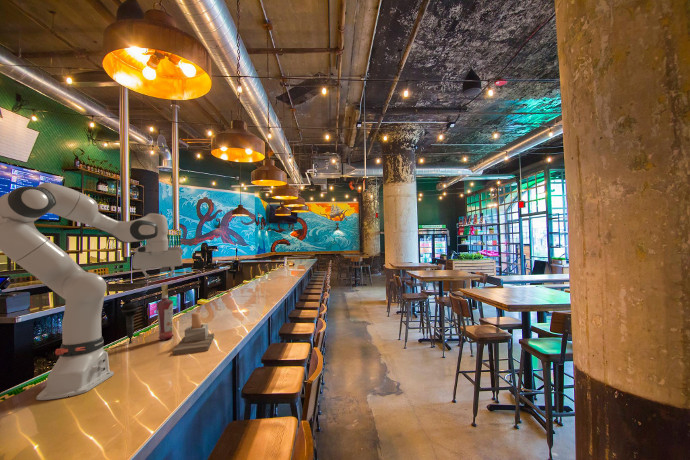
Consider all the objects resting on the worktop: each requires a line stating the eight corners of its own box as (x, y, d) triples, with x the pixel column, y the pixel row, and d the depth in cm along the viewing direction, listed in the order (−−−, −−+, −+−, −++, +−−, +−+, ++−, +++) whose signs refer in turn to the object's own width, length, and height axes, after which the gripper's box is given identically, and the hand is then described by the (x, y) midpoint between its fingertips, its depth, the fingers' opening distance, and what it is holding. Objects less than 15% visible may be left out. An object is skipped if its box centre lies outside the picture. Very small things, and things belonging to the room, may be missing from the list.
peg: (201, 338, 153) (200, 313, 154) (192, 340, 152) (191, 314, 152) (201, 336, 157) (200, 312, 157) (192, 337, 155) (191, 313, 156)
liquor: (169, 341, 159) (167, 285, 160) (154, 341, 160) (153, 285, 161) (177, 336, 167) (175, 283, 168) (163, 337, 167) (161, 284, 168)
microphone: (123, 342, 160) (122, 303, 161) (139, 340, 163) (138, 301, 164) (120, 346, 154) (119, 305, 155) (137, 344, 157) (136, 303, 158)
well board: (207, 350, 141) (207, 333, 141) (172, 355, 137) (172, 337, 137) (214, 337, 162) (213, 322, 162) (184, 340, 158) (183, 325, 158)
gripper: (183, 246, 156) (184, 274, 155) (134, 249, 148) (135, 278, 148) (181, 246, 150) (182, 275, 150) (130, 249, 142) (131, 279, 142)
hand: (158, 277), depth 149 cm, fingers open, 8 cm apart
